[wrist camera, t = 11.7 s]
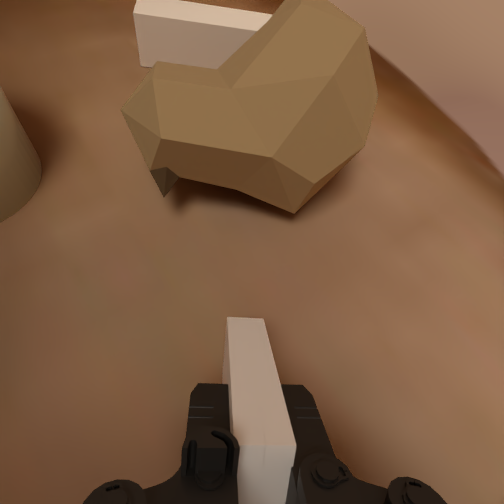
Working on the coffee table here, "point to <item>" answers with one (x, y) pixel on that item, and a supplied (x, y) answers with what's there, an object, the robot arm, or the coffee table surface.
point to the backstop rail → (191, 32)
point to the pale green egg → (15, 162)
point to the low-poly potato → (262, 109)
